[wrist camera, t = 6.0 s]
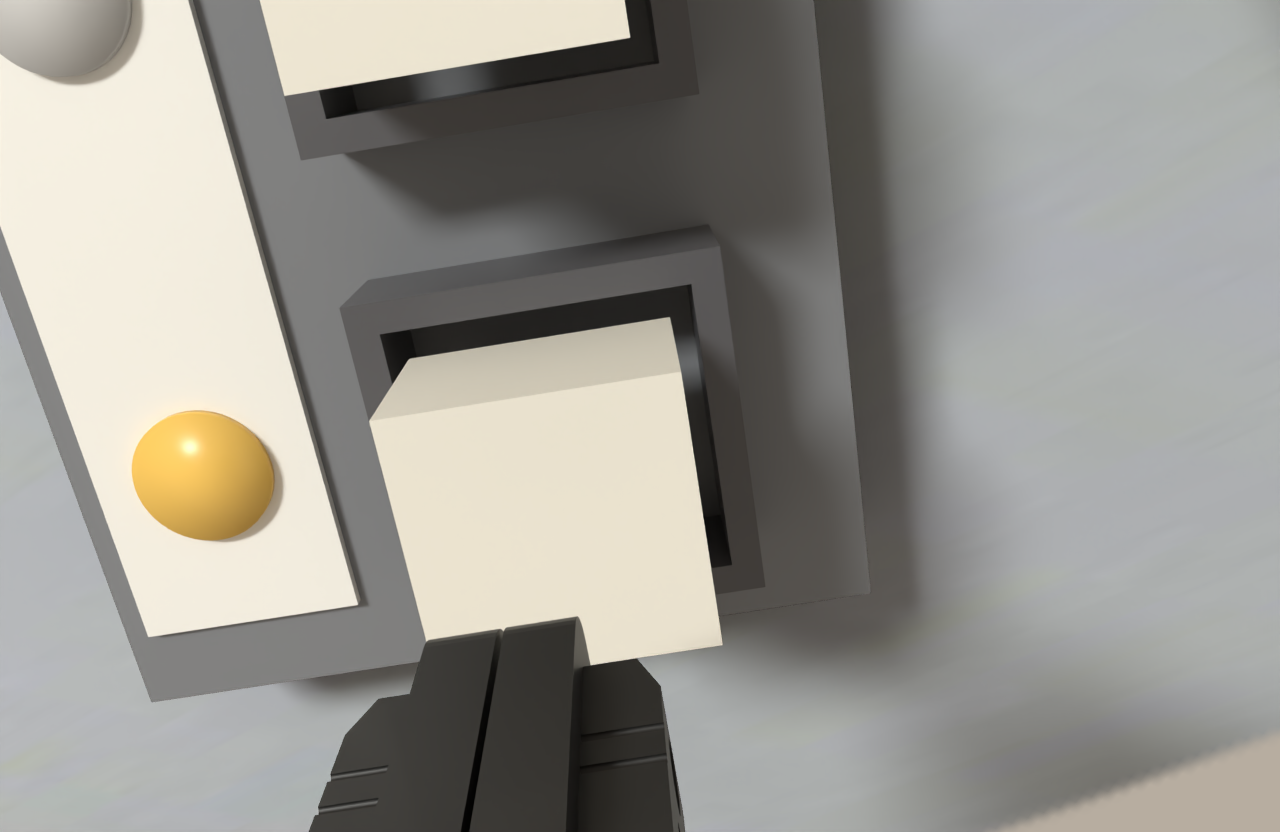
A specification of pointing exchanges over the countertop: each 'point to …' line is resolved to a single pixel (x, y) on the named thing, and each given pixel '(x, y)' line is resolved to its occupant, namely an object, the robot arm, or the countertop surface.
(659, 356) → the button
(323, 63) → the button middle
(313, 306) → the button board
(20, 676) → the countertop surface
